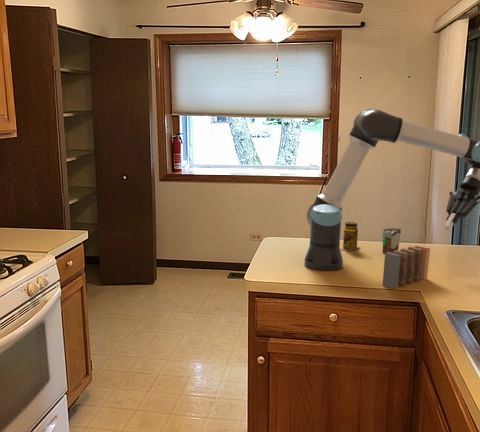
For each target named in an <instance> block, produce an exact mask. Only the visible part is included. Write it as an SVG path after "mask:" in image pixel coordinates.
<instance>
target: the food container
mask: <svg viewBox="0 0 480 432" xmlns="http://www.w3.org/2000/svg"><path fill="white" fill-rule="evenodd" d="M401 229H402V228H397V227H394V228H393V227H391V228H388V227H387V228H383V229H382V231H381V237H382V254H384V255H385V253H386V252H391V253H393V251H394V250H398V251H399V246H400V240H401V239H400V238H401V233H402V232H401V231H402V230H401Z"/></svg>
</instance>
